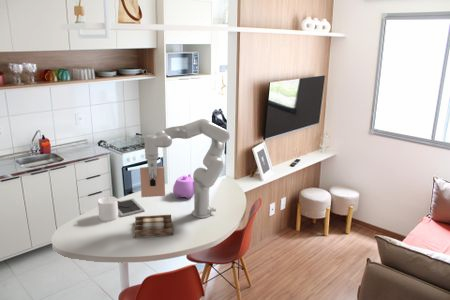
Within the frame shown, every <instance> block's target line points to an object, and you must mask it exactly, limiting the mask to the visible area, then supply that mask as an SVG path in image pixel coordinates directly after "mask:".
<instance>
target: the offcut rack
mask: <svg viewBox="0 0 450 300" xmlns="http://www.w3.org/2000/svg"><path fill="white" fill-rule="evenodd" d="M148 218H163V220H164V229H151V230H143V219H148ZM133 233H134V238H144V237H145V238H149V237H161V236H162V237H164V236H173V235H174V229H173V219H172V214H160V215H143V216H142V215H139V216H135V220H134V231H133Z"/></svg>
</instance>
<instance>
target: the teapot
mask: <svg viewBox="0 0 450 300" xmlns="http://www.w3.org/2000/svg"><path fill="white" fill-rule="evenodd" d="M172 192H173V194H174V195H175V196H176V198H177V199H179V198H186V199H187V200H189V199H191V197H194V179H193V177H192V174H190V173H189V174H188V175H181V176H179V177H178V178H176V180H175V182H174V184H173V188H172Z"/></svg>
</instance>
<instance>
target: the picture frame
mask: <svg viewBox="0 0 450 300" xmlns="http://www.w3.org/2000/svg"><path fill="white" fill-rule="evenodd" d="M117 202H118V216H119V217H120V218H126V217H128V216H133V215H136V214H141V213H145V212H146V211H145V209H144V208H143V207H142V206H141V205H140V203H138V201H136V199H134V198H128V199H124V200H120V201H119V200H117Z"/></svg>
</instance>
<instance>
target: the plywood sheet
mask: <svg viewBox="0 0 450 300" xmlns="http://www.w3.org/2000/svg"><path fill="white" fill-rule="evenodd" d="M153 172H154V171H153ZM139 173H140V174H139V177H140V178H139V179H140V193H141V194H140V196H141V198H153V197H165V196H166V186H165V183H166V181H165V166H157V176H156V175H155V182H156V186H150V176H149V172H148V166H147V167H146V166H145V167H140V168H139ZM153 175H154V174H153Z"/></svg>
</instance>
